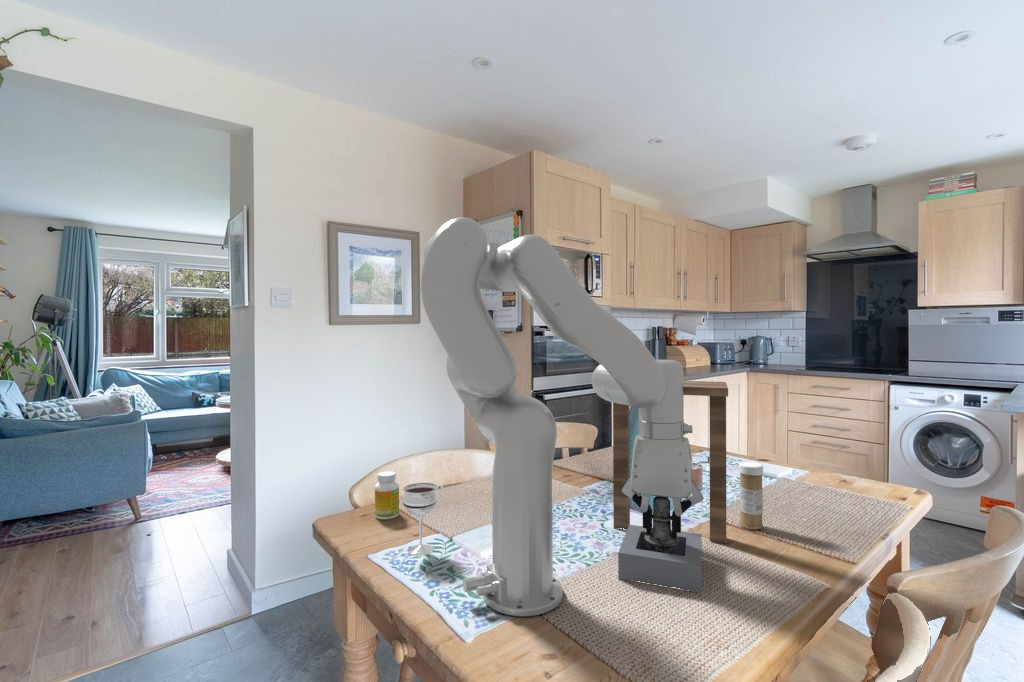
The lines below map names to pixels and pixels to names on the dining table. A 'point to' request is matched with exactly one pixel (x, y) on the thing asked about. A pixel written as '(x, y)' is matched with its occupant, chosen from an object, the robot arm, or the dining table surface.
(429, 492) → the wineglass
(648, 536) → the salt shaker
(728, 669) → the dining table surface
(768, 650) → the dining table surface
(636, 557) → the socket block
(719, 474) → the canopy
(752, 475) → the sprinkles bottle
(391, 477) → the supplement bottle
